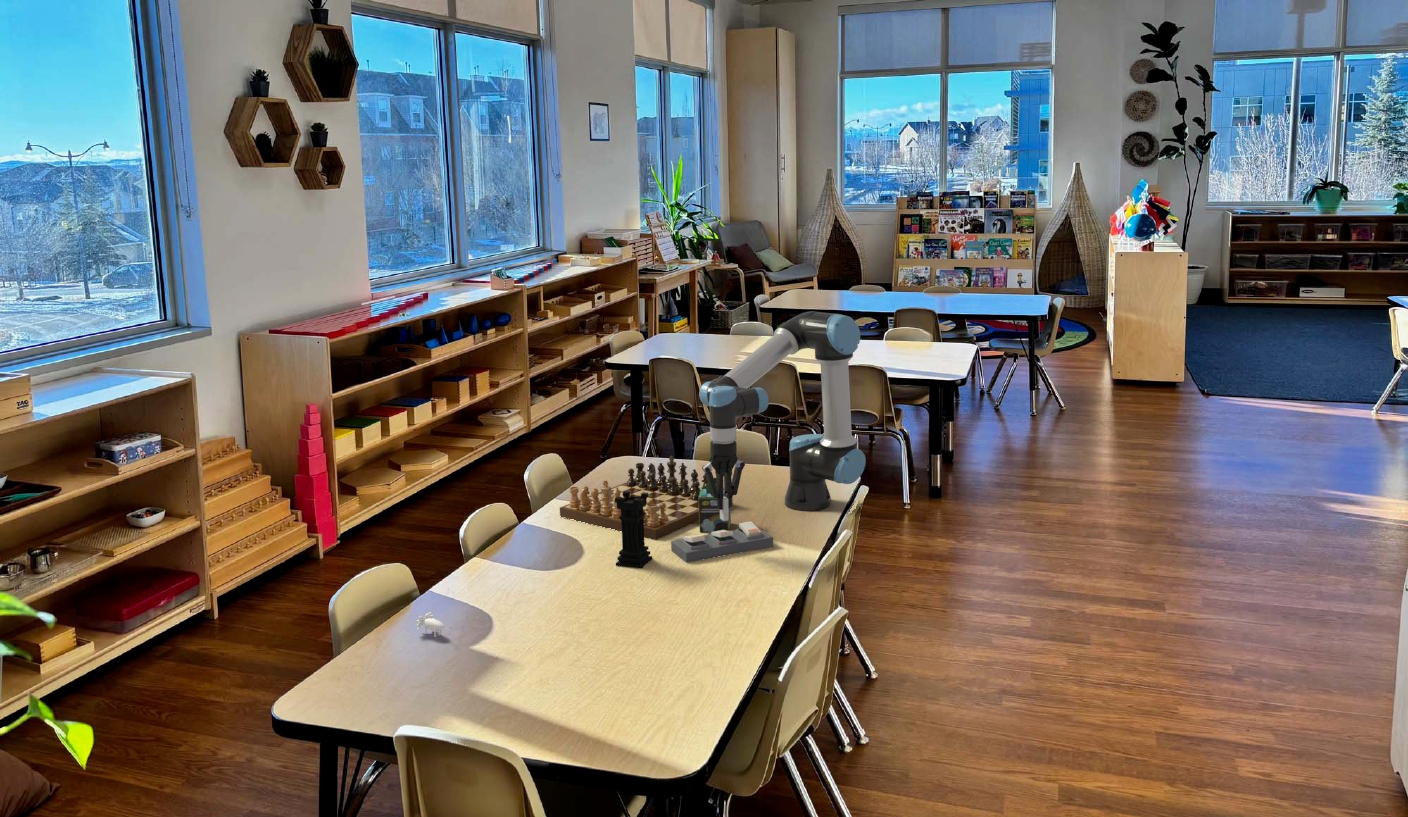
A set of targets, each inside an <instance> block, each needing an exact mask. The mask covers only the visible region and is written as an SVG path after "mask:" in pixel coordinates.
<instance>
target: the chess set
mask: <svg viewBox="0 0 1408 817" xmlns="http://www.w3.org/2000/svg"><path fill="white" fill-rule="evenodd" d="M668 460H669V461H668V462H666V465H667V468H668V469H667V470H666V471H667V473H669V475H668V476H669V477H668V478H667V476H666V475H665V474H666V472H665V466H664V465H663V463H662V462H660V463H659V464H658V466H657V470H656V467H655V466H656V465H654V464H653V463H652V462H649V464H648V467H647V469H646V471H647V472H648V475H647V477H646V474H647V473H646V471H645V470H644V468H645V464H644V463H643V462H637V463H636V464H635V469H637V470H636V471H637V473H636V475H635V470H634V468H629V469H628V470H627V473H628V474H627V476H628V477H629V478H628V479H627V481H626V482H623V483H621V484H619V485H615V486H609V482H608V480H606V479H605V480H603V482H602V485H603V486H601V487H600V490H601V491H600V492H599V490H598V488H597V487H593V488H592V489H591V492H590V491H589V487H588V486H587V485H583V486H582V487H581V491H579V490H580V489H579V487H578V486H571V487H570V488H569V494H570V495H571V497H570V500H569V502H568V504H565V505H562V506H560V507H559V517H560V516H561V517H566V518H569V519H568V520H570V519H574V520H576V522H578V521H581V522H580V523H582V522H585V523H584V524H586V523H588V524H587V525H591V524H593V525H592V526H595V525H597V526H596V527H599V526H602V527H601V528H603V527H605V528H604V529H607V528H611V529H615V530H614V531H616V530H617V532H620V531H622V524H621V519H619V517H620V516H621V509H617V503H616V502H615V498H616V497H622V498H623V492H624V491H630V496H639V497H641V493H643V492H645V493H648V497H647V504H646V505H645V506H643V512H645V516H644V539H645V538H646V539H649V538H650V540H654V541H658V540H660V539H661V538H664V537H666V536H669V535H670V534H672V533H675V532H677V531H679V530H681V529H683V528H687V527H689V526H691V525H692V524H695V523H697V522H699V505H698V497H699V495H700V491H701V490H702V489H706V484H707V483H708V482H707V478H706V474H705V473H704V475H702V478H701V482H702V483H703V484H702V486H701V487H700V485H701V483H700V482H699V473H698V472H697V469H695V468H693V469H692V472H691V473H690V477H691V479H690V482H692V484H691V485H689V480H688V479H686V476H687V475H688V473H687V471H686V470H687V468H688V466H686V465H685V463H684V462H682V463H681V465H679V466H678V469H679V472H678V475H679V476H680V481H679V482H678V481H677V480H678V479H677V477H676V476H675V473H677V469H676V466H677V462H676V461H675V458H674V456H673V455H670V456H669V459H668ZM656 475H658V476H659V477H658V478H657V476H656ZM634 476H635V478H634ZM656 478H657V479H656ZM713 478H714V482H715V483H716V477H713ZM579 492H580V494H579V497H580V498H579V497H578V493H579ZM589 494H590V495H589ZM733 501H734V500H733V498H732V499H731V507H732V505H733V504H734V502H733ZM561 517H560V518H561ZM566 518H565V519H566ZM574 520H573V521H574ZM611 529H610V530H611Z"/></svg>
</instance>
